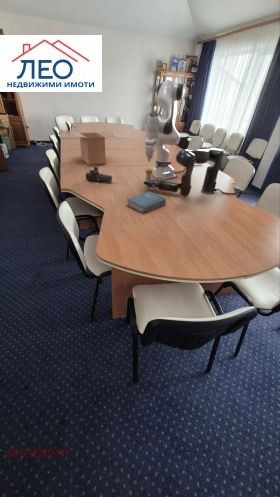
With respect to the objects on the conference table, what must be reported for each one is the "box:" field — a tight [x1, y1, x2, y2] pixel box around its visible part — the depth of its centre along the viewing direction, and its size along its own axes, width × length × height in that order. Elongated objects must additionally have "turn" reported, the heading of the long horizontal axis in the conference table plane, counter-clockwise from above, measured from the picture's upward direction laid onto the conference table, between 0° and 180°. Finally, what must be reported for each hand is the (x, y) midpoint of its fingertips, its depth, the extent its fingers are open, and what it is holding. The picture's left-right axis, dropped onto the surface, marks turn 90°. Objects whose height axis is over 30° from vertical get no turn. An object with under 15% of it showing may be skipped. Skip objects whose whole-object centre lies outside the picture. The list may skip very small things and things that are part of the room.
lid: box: [145, 168, 153, 174], centre depth 172 cm, size 5×5×2 cm
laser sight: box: [85, 166, 113, 184], centre depth 187 cm, size 10×22×10 cm, turn 78°
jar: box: [144, 172, 153, 192], centre depth 176 cm, size 4×4×16 cm
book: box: [126, 190, 167, 214], centre depth 156 cm, size 23×16×5 cm
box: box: [70, 129, 114, 166], centre depth 229 cm, size 44×36×27 cm
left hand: (150, 159), depth 167 cm, fingers open, 7 cm apart
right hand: (144, 181), depth 178 cm, fingers closed on jar, 4 cm apart
